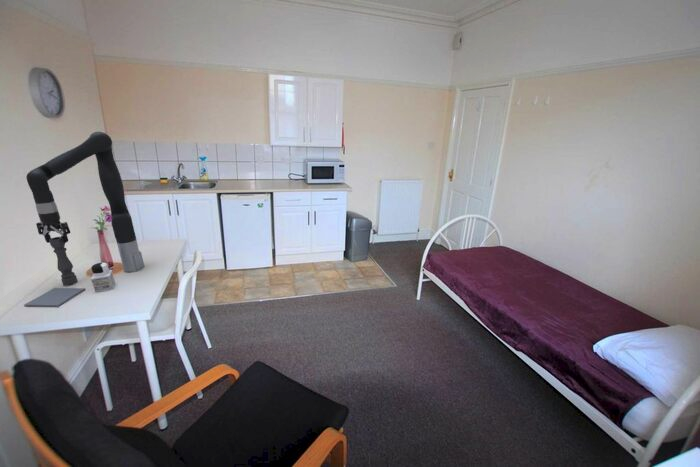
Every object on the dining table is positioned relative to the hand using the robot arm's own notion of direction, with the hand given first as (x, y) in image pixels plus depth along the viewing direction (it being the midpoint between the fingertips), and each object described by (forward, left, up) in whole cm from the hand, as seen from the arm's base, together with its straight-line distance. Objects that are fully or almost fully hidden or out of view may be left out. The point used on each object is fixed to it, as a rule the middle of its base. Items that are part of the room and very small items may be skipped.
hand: (57, 242), depth 167 cm
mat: (-6, +15, -23) cm, 28 cm away
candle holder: (0, 0, -23) cm, 23 cm away
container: (-22, +4, -23) cm, 32 cm away
